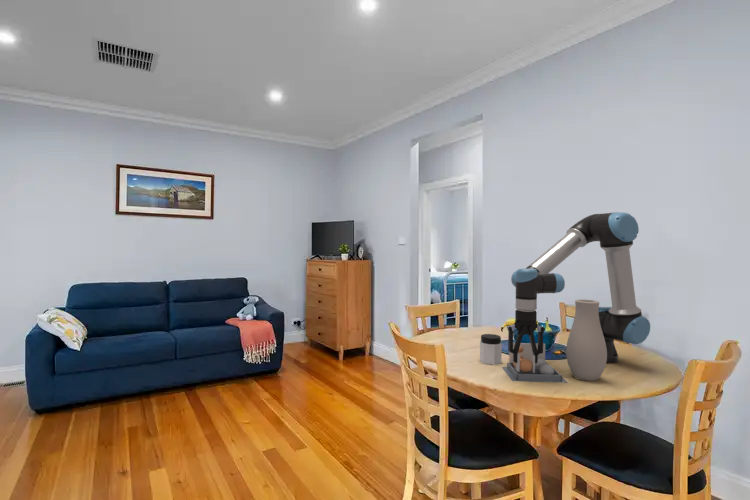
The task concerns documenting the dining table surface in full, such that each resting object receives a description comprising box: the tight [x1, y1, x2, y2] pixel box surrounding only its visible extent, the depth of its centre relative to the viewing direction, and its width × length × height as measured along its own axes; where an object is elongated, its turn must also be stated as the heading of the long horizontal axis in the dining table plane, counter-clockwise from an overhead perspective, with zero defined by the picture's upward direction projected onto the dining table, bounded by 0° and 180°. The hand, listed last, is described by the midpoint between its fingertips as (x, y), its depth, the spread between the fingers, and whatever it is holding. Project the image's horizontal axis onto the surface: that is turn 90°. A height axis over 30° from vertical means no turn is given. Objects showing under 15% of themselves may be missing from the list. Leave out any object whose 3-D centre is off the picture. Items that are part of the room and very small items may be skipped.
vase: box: [565, 298, 607, 382], centre depth 157 cm, size 14×14×30 cm
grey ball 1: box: [535, 359, 548, 369], centre depth 163 cm, size 5×5×5 cm
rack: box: [501, 342, 569, 384], centre depth 160 cm, size 20×17×11 cm
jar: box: [479, 333, 503, 366], centre depth 176 cm, size 9×8×12 cm
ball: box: [520, 359, 532, 372], centre depth 157 cm, size 5×5×5 cm
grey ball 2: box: [540, 363, 555, 375], centre depth 156 cm, size 5×5×5 cm
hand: (525, 371), depth 157 cm, fingers closed on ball, 5 cm apart
